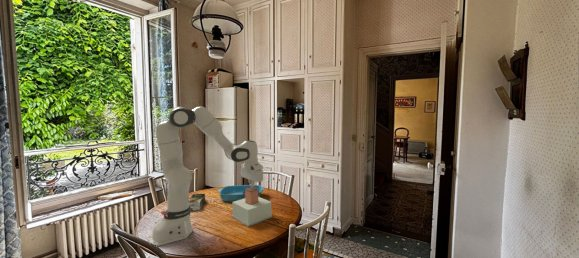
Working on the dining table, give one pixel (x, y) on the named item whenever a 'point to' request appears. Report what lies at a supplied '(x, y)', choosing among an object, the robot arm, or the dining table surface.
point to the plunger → (251, 195)
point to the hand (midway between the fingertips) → (251, 186)
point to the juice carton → (196, 201)
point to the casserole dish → (236, 192)
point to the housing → (251, 211)
